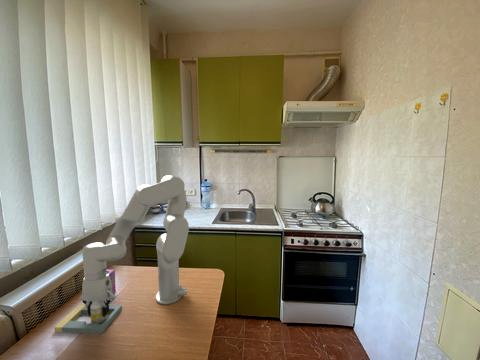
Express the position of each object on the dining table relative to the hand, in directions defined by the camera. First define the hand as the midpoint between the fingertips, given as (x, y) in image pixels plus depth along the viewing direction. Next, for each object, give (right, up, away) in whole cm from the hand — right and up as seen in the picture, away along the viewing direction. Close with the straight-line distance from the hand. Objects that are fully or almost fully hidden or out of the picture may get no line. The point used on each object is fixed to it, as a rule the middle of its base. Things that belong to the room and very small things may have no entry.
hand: (98, 313), depth 87 cm
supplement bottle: (0, -3, 0) cm, 3 cm away
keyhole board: (-4, -3, 0) cm, 5 cm away
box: (-10, -1, +17) cm, 20 cm away
